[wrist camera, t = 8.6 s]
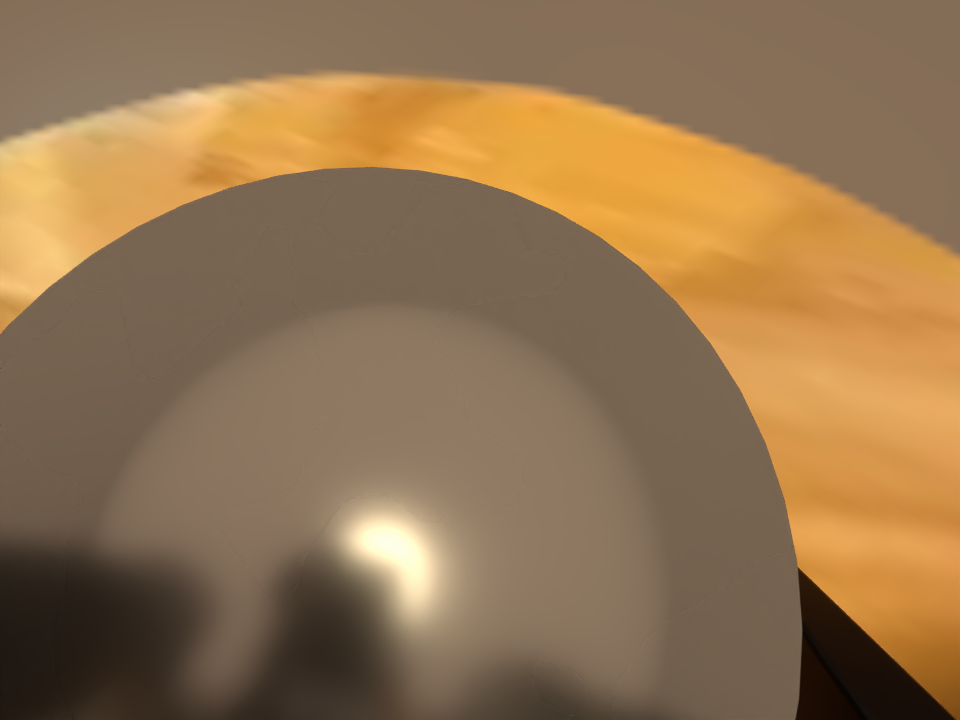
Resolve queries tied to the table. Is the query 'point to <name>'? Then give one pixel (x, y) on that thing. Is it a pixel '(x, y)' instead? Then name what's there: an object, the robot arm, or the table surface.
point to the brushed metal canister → (382, 474)
